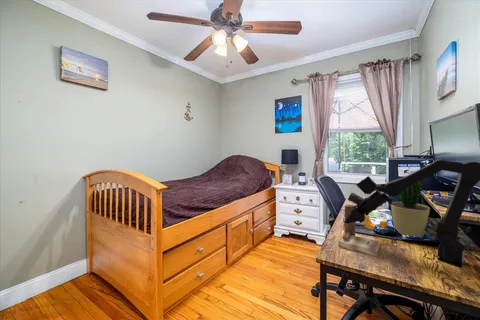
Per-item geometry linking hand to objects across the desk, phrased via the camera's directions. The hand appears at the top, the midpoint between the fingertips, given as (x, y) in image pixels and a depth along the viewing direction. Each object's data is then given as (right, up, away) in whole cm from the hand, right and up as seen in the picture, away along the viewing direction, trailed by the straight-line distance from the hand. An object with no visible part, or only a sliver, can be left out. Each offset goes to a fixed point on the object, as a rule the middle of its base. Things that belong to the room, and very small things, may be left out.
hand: (346, 220), depth 103 cm
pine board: (+1, -9, -9) cm, 13 cm away
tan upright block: (-1, -9, -4) cm, 9 cm away
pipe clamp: (+20, -8, +9) cm, 24 cm away
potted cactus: (+33, -8, +2) cm, 34 cm away
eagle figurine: (+38, -8, -6) cm, 40 cm away
